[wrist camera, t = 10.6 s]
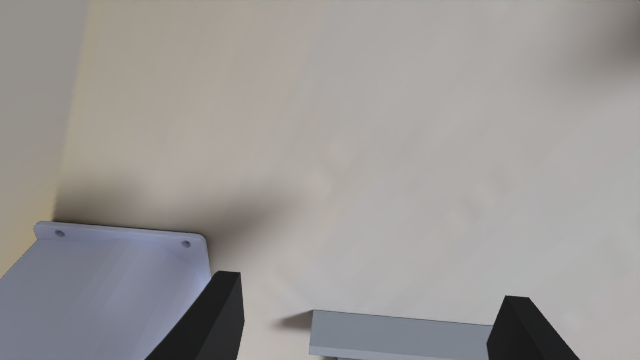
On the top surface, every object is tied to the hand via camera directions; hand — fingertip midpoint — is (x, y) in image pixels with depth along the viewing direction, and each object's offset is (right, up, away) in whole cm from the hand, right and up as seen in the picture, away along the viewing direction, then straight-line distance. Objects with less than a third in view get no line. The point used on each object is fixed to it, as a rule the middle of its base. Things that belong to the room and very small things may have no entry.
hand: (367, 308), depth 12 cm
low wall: (+5, -5, +14) cm, 16 cm away
